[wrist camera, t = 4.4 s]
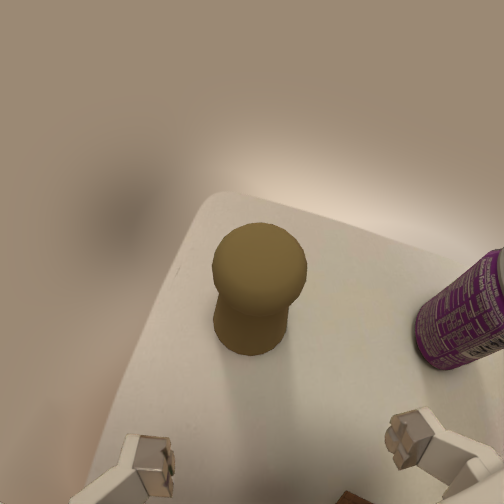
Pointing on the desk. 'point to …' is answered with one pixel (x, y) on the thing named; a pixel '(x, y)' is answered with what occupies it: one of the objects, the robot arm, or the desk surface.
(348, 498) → the tray
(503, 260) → the beverage can
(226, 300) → the cork
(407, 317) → the desk surface
